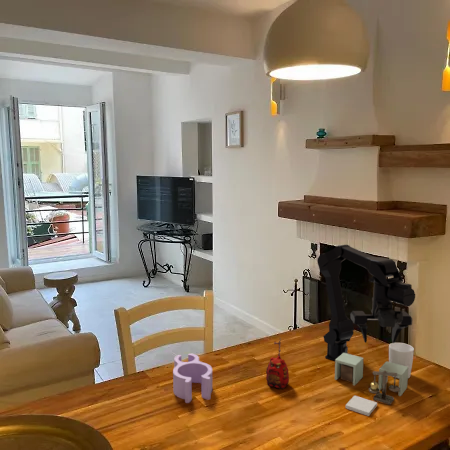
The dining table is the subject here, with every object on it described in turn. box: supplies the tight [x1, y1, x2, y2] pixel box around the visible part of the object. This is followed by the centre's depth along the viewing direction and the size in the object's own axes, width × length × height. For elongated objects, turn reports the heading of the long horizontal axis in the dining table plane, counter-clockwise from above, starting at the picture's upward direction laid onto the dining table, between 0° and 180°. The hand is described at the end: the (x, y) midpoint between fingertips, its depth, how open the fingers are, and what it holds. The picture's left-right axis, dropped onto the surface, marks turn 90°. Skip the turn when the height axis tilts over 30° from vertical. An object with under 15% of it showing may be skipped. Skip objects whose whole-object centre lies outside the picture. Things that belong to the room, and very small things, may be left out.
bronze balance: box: [368, 371, 400, 406], centre depth 138 cm, size 9×4×10 cm, turn 53°
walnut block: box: [340, 364, 353, 383], centre depth 152 cm, size 4×4×5 cm
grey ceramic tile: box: [345, 395, 378, 417], centre depth 135 cm, size 7×7×1 cm
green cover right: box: [378, 360, 409, 397], centre depth 145 cm, size 7×7×7 cm
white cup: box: [388, 342, 415, 379], centre depth 154 cm, size 8×8×10 cm
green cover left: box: [334, 353, 364, 386], centre depth 152 cm, size 7×7×7 cm
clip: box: [172, 352, 213, 404], centre depth 147 cm, size 20×12×7 cm, turn 17°
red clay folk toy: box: [265, 337, 290, 390], centre depth 148 cm, size 8×7×15 cm
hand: (379, 342), depth 151 cm, fingers open, 9 cm apart
